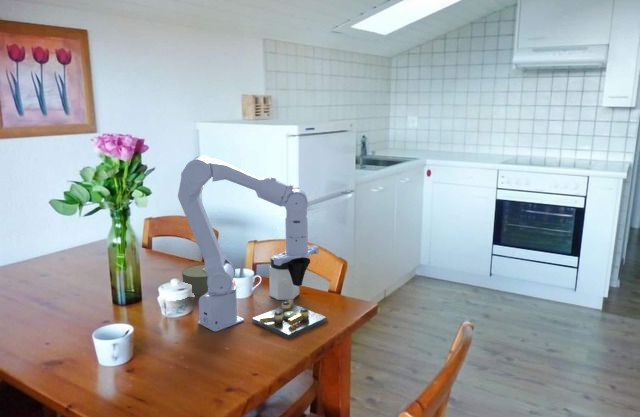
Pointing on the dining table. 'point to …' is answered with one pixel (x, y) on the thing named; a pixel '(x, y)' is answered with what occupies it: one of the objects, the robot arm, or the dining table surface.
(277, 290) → the jar
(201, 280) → the can
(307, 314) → the front footscrew
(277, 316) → the left footscrew
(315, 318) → the plate
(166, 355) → the dining table surface
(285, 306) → the back footscrew
